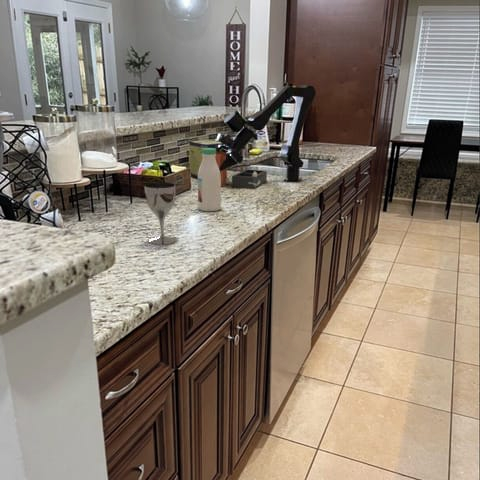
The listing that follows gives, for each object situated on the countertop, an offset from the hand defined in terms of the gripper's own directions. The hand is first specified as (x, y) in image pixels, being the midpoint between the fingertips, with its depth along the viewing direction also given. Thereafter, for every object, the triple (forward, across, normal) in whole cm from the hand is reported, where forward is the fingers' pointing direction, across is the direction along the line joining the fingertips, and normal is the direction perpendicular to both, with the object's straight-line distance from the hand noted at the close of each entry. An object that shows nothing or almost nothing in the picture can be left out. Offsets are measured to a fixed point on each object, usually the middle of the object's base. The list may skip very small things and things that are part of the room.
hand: (215, 168), depth 209 cm
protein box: (+3, -18, +7) cm, 19 cm away
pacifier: (-7, +8, +11) cm, 16 cm away
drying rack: (-6, +2, +15) cm, 16 cm away
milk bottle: (+16, +41, -6) cm, 44 cm away
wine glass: (+33, +72, -23) cm, 82 cm away
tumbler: (+4, 0, +6) cm, 7 cm away
